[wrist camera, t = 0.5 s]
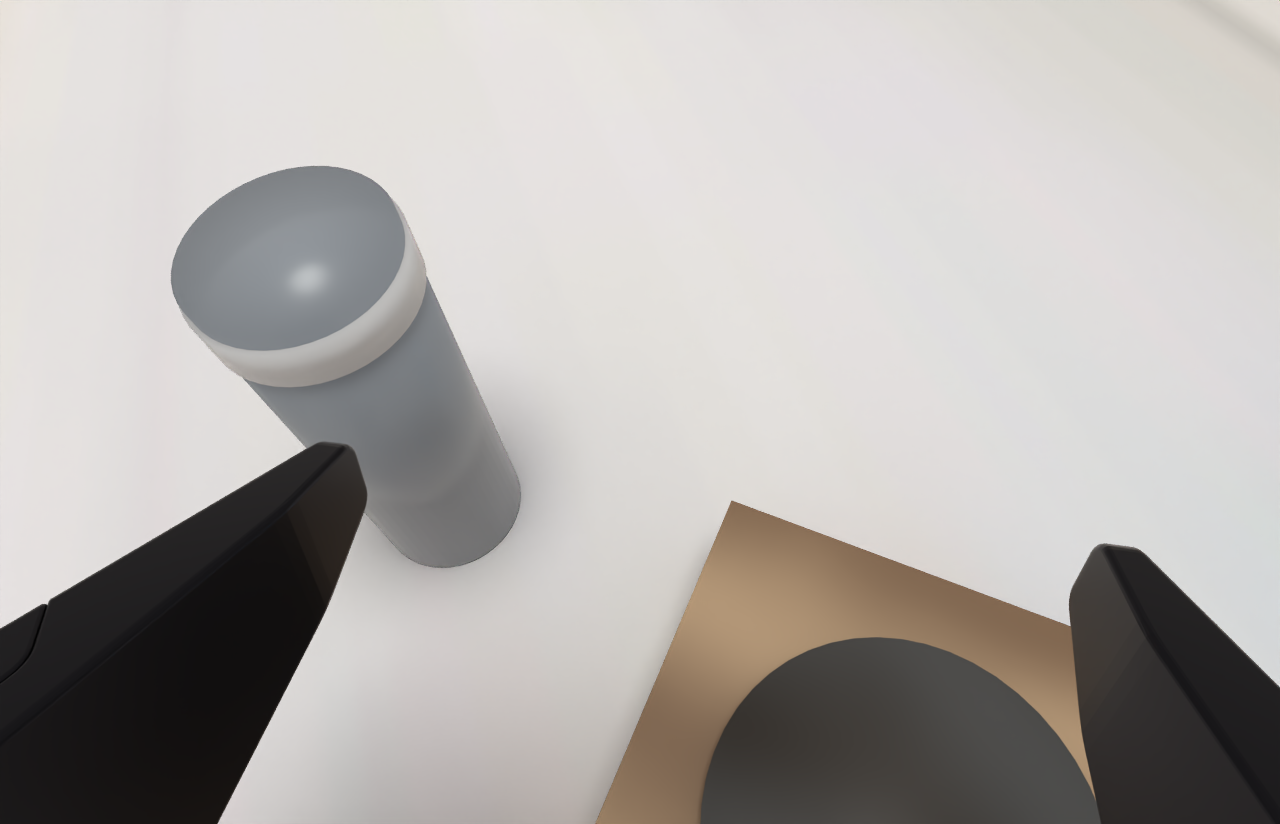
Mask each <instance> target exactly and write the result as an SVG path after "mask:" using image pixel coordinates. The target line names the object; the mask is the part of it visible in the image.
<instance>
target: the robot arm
mask: <svg viewBox="0 0 1280 824" xmlns="http://www.w3.org/2000/svg"><path fill="white" fill-rule="evenodd" d="M367 497H368V493H367V487H366V483H365V480H364V477H363V474H362V471H361V467H360V464H359V461H358V458H357V454H356V452H355V450H354V449H353V448H352V447H351V446H350V445H348V444H342V443H335V442H327V441H322V442H318V443H316V444H314V445H312V446H310V447H309V448H307V449H305V450H303V451H302V452H300V453H298V454H297V455H295V456H293V457H292V458H290V459H288V460H286V461H285V462H283V463H281V464H280V465H278V466H276V467H275V468H273V469H271V470H270V471H268V472H266V473H264V474H263V475H261V476H259V477H258V478H256V479H254V480H253V481H251V482H249V483H247V484H246V485H244V486H242V487H241V488H239V489H237V490H236V491H234V492H232V493H230V494H229V495H227V496H225V497H224V498H222V499H220V500H219V501H217V502H215V503H213V504H212V505H210V506H208V507H207V508H205V509H203V510H202V511H200V512H198V513H196V514H195V515H193V516H191V517H190V518H188V519H186V520H185V521H183V522H181V523H179V524H178V525H176V526H174V527H173V528H171V529H169V530H168V531H166V532H164V533H162V534H161V535H159V536H157V537H156V538H154V539H152V540H151V541H149V542H147V543H145V544H144V545H142V546H140V547H139V548H137V549H135V550H134V551H132V552H130V553H128V554H127V555H125V556H123V557H122V558H120V559H118V560H117V561H115V562H113V563H111V564H110V565H108V566H106V567H105V568H103V569H101V570H100V571H98V572H96V573H94V574H93V575H91V576H89V577H88V578H86V579H84V580H83V581H81V582H79V583H77V584H76V585H74V586H72V587H71V588H69V589H67V590H65V591H64V592H62V593H60V594H59V595H57V596H55V597H54V598H52V599H51V600H49V602H48V605H47V604H41V605H40V606H38V607H36V608H35V609H33V610H31V611H30V612H28V613H26V614H24V615H23V616H21V617H19V618H18V619H16V620H14V621H13V622H11V623H9V624H7V625H6V626H4V627H2V628H0V824H218V822H219V820H220V818H221V816H222V814H223V812H224V810H225V808H226V806H227V804H228V802H229V800H230V798H231V796H232V794H233V792H234V790H235V788H236V786H237V784H238V783H239V781H240V779H241V777H242V775H243V773H244V771H245V769H246V767H247V765H248V763H249V761H250V759H251V757H252V755H253V753H254V751H255V749H256V747H257V745H258V743H259V741H260V739H261V738H262V736H263V734H264V732H265V730H266V728H267V726H268V724H269V722H270V720H271V718H272V716H273V714H274V712H275V710H276V708H277V706H278V704H279V702H280V700H281V698H282V696H283V694H284V692H285V691H286V689H287V687H288V685H289V683H290V681H291V679H292V677H293V675H294V673H295V671H296V669H297V667H298V665H299V663H300V661H301V659H302V657H303V655H304V653H305V651H306V649H307V647H308V646H309V644H310V642H311V640H312V638H313V636H314V634H315V632H316V630H317V628H318V626H319V624H320V622H321V620H322V618H323V616H324V614H325V611H326V609H327V607H328V605H329V602H330V600H331V597H332V595H333V593H334V590H335V587H336V585H337V582H338V579H339V577H340V574H341V571H342V569H343V566H344V564H345V561H346V558H347V556H348V553H349V550H350V548H351V545H352V542H353V540H354V537H355V534H356V532H357V529H358V527H359V524H360V521H361V519H362V516H363V513H364V511H365V508H366V504H367ZM1069 613H1070V623H1071V634H1072V644H1073V654H1074V665H1075V675H1076V686H1077V696H1078V706H1079V716H1080V724H1081V732H1082V737H1083V742H1084V748H1085V753H1086V757H1087V762H1088V766H1089V771H1090V776H1091V780H1092V785H1093V789H1094V794H1095V798H1096V803H1097V807H1098V812H1099V816H1100V821H1101V824H1280V687H1279V686H1278V685H1277V684H1276V683H1275V682H1274V681H1273V680H1272V679H1271V678H1270V677H1269V676H1268V675H1267V674H1266V673H1265V672H1264V671H1263V670H1262V669H1261V668H1260V667H1259V666H1258V665H1257V664H1256V663H1255V662H1254V661H1253V660H1252V659H1251V658H1250V657H1249V656H1248V655H1247V654H1246V653H1245V652H1244V651H1243V650H1242V649H1241V648H1240V647H1239V646H1238V645H1237V644H1236V643H1235V642H1234V641H1233V640H1232V639H1231V638H1230V637H1229V636H1228V635H1227V634H1226V633H1225V632H1224V631H1223V630H1222V629H1221V628H1220V627H1219V626H1218V625H1217V624H1215V623H1214V622H1213V621H1212V620H1211V619H1210V618H1209V617H1208V616H1207V615H1206V614H1205V613H1204V612H1203V611H1202V610H1201V609H1200V608H1199V607H1198V606H1197V605H1196V604H1195V603H1194V602H1193V601H1192V600H1191V599H1190V598H1189V597H1188V596H1187V595H1186V594H1185V593H1184V592H1183V591H1182V590H1181V589H1180V588H1179V587H1178V586H1177V585H1176V584H1175V583H1174V582H1173V581H1172V580H1171V579H1170V578H1169V577H1168V576H1167V575H1166V574H1165V573H1164V572H1163V571H1162V570H1161V569H1160V568H1159V567H1158V566H1157V565H1156V564H1155V563H1154V562H1153V561H1152V560H1151V559H1150V558H1149V557H1148V556H1147V555H1146V554H1145V553H1143V552H1142V551H1141V550H1139V549H1137V548H1134V547H1128V546H1120V545H1112V544H1099V545H1097V546H1096V547H1095V548H1094V549H1093V550H1092V552H1091V553H1090V555H1089V557H1088V559H1087V561H1086V563H1085V565H1084V566H1083V568H1082V570H1081V572H1080V574H1079V576H1078V578H1077V579H1076V581H1075V583H1074V585H1073V587H1072V589H1071V593H1070V598H1069Z"/></svg>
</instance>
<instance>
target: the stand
mask: <svg viewBox="0 0 1280 824" xmlns="http://www.w3.org/2000/svg"><path fill="white" fill-rule="evenodd" d="M595 824H1101V821H1100V816H1099V812H1098V807H1097V803H1096V798H1095V794H1094V789H1093V785H1092V780H1091V776H1090V771H1089V766H1088V762H1087V757H1086V753H1085V748H1084V742H1083V737H1082V732H1081V724H1080V716H1079V706H1078V696H1077V686H1076V675H1075V665H1074V654H1073V644H1072V634H1071V626H1068V625H1065V624H1063V623H1060V622H1057V621H1054V620H1052V619H1049V618H1046V617H1044V616H1041V615H1038V614H1036V613H1033V612H1030V611H1028V610H1025V609H1022V608H1019V607H1017V606H1014V605H1011V604H1009V603H1006V602H1003V601H1001V600H998V599H995V598H993V597H990V596H987V595H984V594H982V593H979V592H976V591H974V590H971V589H968V588H966V587H963V586H960V585H958V584H955V583H952V582H950V581H947V580H944V579H941V578H939V577H936V576H933V575H931V574H928V573H925V572H923V571H920V570H917V569H915V568H912V567H909V566H906V565H904V564H901V563H898V562H896V561H893V560H890V559H888V558H885V557H882V556H880V555H877V554H874V553H871V552H869V551H866V550H863V549H861V548H858V547H855V546H853V545H850V544H847V543H845V542H842V541H839V540H836V539H834V538H831V537H828V536H826V535H823V534H820V533H818V532H815V531H812V530H810V529H807V528H804V527H801V526H799V525H796V524H793V523H791V522H788V521H785V520H783V519H780V518H777V517H775V516H772V515H769V514H767V513H764V512H761V511H758V510H756V509H753V508H750V507H748V506H745V505H742V504H740V503H737V502H734V501H731V503H730V506H729V508H728V511H727V513H726V515H725V518H724V520H723V522H722V525H721V527H720V530H719V532H718V534H717V537H716V539H715V541H714V544H713V546H712V548H711V551H710V553H709V556H708V558H707V560H706V563H705V565H704V567H703V570H702V572H701V575H700V577H699V579H698V582H697V584H696V586H695V589H694V591H693V593H692V596H691V598H690V601H689V603H688V605H687V608H686V610H685V612H684V615H683V617H682V620H681V622H680V624H679V627H678V629H677V631H676V634H675V636H674V638H673V641H672V643H671V646H670V648H669V650H668V653H667V655H666V657H665V660H664V662H663V665H662V667H661V669H660V672H659V674H658V676H657V679H656V681H655V683H654V686H653V688H652V691H651V693H650V695H649V698H648V700H647V702H646V705H645V707H644V710H643V712H642V714H641V717H640V719H639V721H638V724H637V726H636V728H635V731H634V733H633V736H632V738H631V740H630V743H629V745H628V747H627V750H626V752H625V755H624V757H623V759H622V762H621V764H620V766H619V769H618V771H617V774H616V776H615V778H614V781H613V783H612V785H611V788H610V790H609V792H608V795H607V797H606V800H605V802H604V804H603V807H602V809H601V811H600V814H599V816H598V819H597V821H596V823H595Z"/></svg>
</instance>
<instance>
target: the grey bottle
mask: <svg viewBox="0 0 1280 824" xmlns="http://www.w3.org/2000/svg"><path fill="white" fill-rule="evenodd" d="M171 284H172V290H173V294H174V297H175V299H176V301H177V304H178V305H179V308H180V310H181V313H182V315H183V318H184V319H185V321H186V322H187V324H188V325H189V327H190V328H191V329H192V330H193V331H194V332H195V333H196V334H197V335H198V337H199V338H200V339H201V340H202V341H203V342H204V343H205V344H206V345H207V346H208V347H209V349H210V350H211V351H212V352H213V353H214V354H215V355H216V356H217V357H218V358H219V359H220V360H221V361H222V363H223V364H224V365H225V366H226V367H227V368H229V369H230V370H231V371H233V372H234V373H236V374H237V375H239V376H241V377H242V378H243V379H244V380H245V381H246V382H247V383H248V384H249V385H250V386H251V388H252V389H253V390H254V391H255V392H256V393H257V394H258V395H259V396H260V397H261V399H262V400H263V401H264V402H265V403H266V404H267V405H268V406H269V407H270V409H271V410H272V411H273V412H274V413H275V414H276V415H277V416H278V417H279V418H280V420H281V421H282V422H283V423H284V424H285V425H286V426H287V427H288V428H289V429H290V431H291V432H292V433H293V434H294V435H295V436H296V437H297V438H298V439H299V441H300V442H301V443H302V444H303V445H304V446H305V447H306V448H309V447H310V446H312V445H314V444H316V443H318V442H322V441H327V442H335V443H342V444H348V445H350V446H351V447H352V448H353V449H354V450H355V452H356V454H357V458H358V461H359V464H360V467H361V471H362V474H363V477H364V480H365V483H366V487H367V493H368V497H367V504H366V508H365V511H364V512H365V513H366V515H367V516H368V517H369V518H370V519H371V520H372V521H373V522H374V523H375V524H376V526H377V527H378V528H379V529H380V530H381V531H382V532H383V533H384V534H385V536H386V537H387V538H388V539H389V540H390V541H391V542H392V543H393V544H394V545H395V547H396V548H397V549H398V550H399V551H400V552H401V553H402V554H404V555H405V556H406V557H408V558H409V559H411V560H413V561H415V562H417V563H420V564H422V565H426V566H431V567H441V568H443V567H454V566H460V565H463V564H466V563H470V562H472V561H474V560H476V559H479V558H480V557H482V556H484V555H485V554H487V553H488V552H490V551H491V550H492V549H494V548H495V547H496V546H497V545H498V544H499V543H500V542H501V541H502V540H503V539H504V537H505V536H506V535H507V534H508V532H509V530H510V529H511V527H512V526H513V523H514V521H515V519H516V517H517V514H518V511H519V506H520V496H521V493H520V484H519V480H518V477H517V475H516V472H515V470H514V468H513V466H512V463H511V461H510V459H509V457H508V455H507V452H506V450H505V448H504V446H503V443H502V441H501V439H500V437H499V435H498V432H497V430H496V428H495V426H494V424H493V421H492V419H491V417H490V415H489V413H488V410H487V408H486V406H485V404H484V402H483V399H482V397H481V395H480V393H479V391H478V388H477V386H476V384H475V382H474V379H473V377H472V375H471V373H470V371H469V368H468V366H467V364H466V362H465V360H464V357H463V355H462V353H461V351H460V349H459V346H458V344H457V342H456V340H455V338H454V335H453V333H452V331H451V329H450V327H449V324H448V322H447V320H446V318H445V315H444V313H443V311H442V309H441V307H440V304H439V302H438V300H437V298H436V296H435V293H434V291H433V289H432V287H431V285H430V282H429V280H428V278H427V276H426V268H425V263H424V259H423V257H422V254H421V252H420V250H419V248H418V245H417V243H416V241H415V239H414V236H413V234H412V232H411V230H410V227H409V225H408V223H407V221H406V218H405V216H404V214H403V212H402V211H401V209H400V208H399V206H398V205H397V204H396V203H395V202H394V201H393V199H392V198H391V197H389V195H388V193H387V192H386V191H385V190H384V189H383V188H382V187H381V186H380V185H378V184H377V183H376V182H374V181H373V180H372V179H370V178H368V177H366V176H364V175H362V174H359V173H357V172H354V171H351V170H347V169H343V168H338V167H329V166H307V167H297V168H291V169H285V170H282V171H278V172H274V173H270V174H268V175H265V176H262V177H259V178H256V179H254V180H252V181H250V182H247V183H245V184H243V185H241V186H240V187H238V188H236V189H234V190H232V191H231V192H229V193H228V194H226V195H225V196H223V197H222V198H220V199H219V200H218V201H216V202H215V203H214V204H212V205H211V206H210V207H209V208H208V209H207V210H206V211H205V212H203V213H202V214H201V215H200V216H199V217H198V218H197V220H196V221H195V222H194V223H193V224H192V226H191V227H190V228H189V229H188V231H187V232H186V234H185V235H184V237H183V238H182V240H181V242H180V244H179V246H178V248H177V251H176V254H175V257H174V259H173V264H172V270H171Z"/></svg>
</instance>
